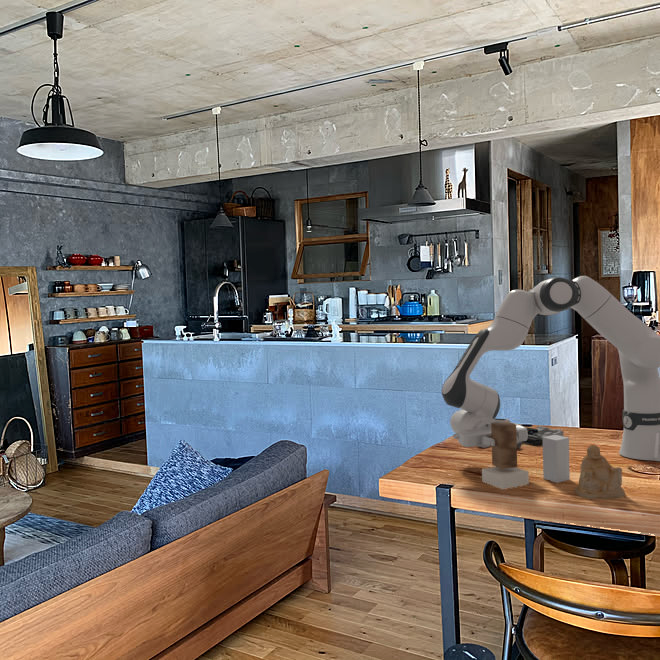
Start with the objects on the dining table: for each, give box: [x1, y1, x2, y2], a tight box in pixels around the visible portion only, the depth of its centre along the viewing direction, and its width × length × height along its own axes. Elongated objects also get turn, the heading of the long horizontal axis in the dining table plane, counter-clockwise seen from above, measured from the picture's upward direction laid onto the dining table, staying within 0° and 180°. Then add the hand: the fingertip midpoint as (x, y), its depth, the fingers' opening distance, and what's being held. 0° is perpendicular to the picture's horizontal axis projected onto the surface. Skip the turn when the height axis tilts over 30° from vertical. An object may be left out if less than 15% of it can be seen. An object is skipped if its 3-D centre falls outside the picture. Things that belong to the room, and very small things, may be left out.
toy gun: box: [517, 425, 565, 449], centre depth 234 cm, size 4×33×15 cm
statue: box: [574, 444, 626, 500], centre depth 176 cm, size 12×14×10 cm
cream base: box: [481, 466, 530, 490], centre depth 187 cm, size 9×9×4 cm
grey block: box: [542, 435, 571, 484], centre depth 189 cm, size 5×5×12 cm
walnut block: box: [491, 421, 518, 469], centre depth 187 cm, size 5×5×12 cm
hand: (505, 441), depth 186 cm, fingers closed on walnut block, 5 cm apart
